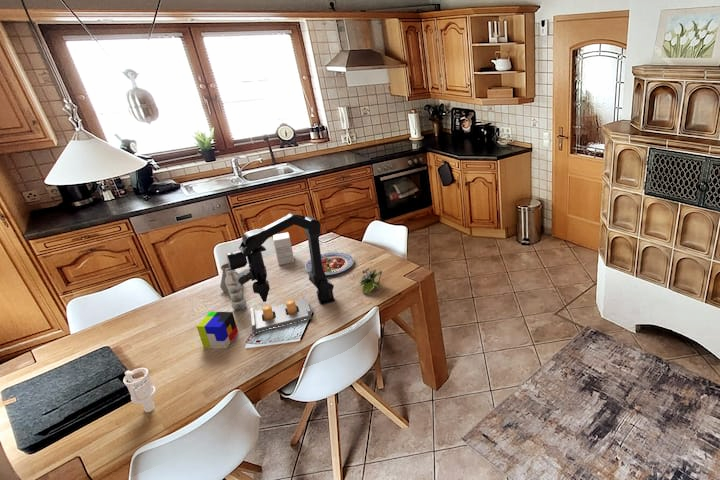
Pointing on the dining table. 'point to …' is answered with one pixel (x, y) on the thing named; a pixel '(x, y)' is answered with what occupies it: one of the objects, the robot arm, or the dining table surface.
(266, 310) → the orange rounded plug
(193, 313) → the dining table surface
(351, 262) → the ceramic plate
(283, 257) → the supplement box
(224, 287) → the coffee pot
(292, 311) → the orange tapered peg
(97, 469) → the dining table surface
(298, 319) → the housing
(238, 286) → the plastic bottle
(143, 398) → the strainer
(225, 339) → the puzzle toy
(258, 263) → the robot arm
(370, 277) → the green leafy clump
